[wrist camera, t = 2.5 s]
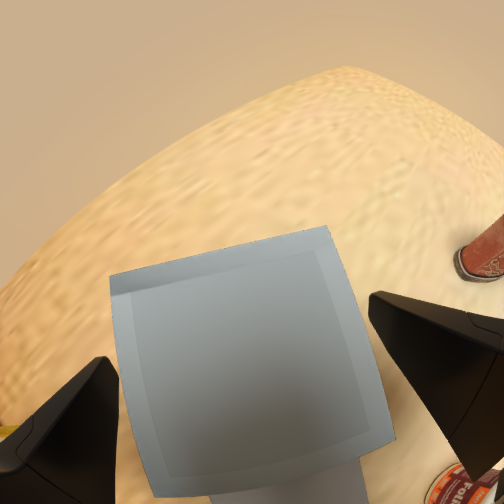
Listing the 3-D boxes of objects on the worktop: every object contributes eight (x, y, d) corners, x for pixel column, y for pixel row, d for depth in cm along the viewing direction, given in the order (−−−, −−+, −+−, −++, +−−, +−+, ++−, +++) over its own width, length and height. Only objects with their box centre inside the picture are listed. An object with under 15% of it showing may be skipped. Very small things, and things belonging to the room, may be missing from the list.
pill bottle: (431, 470, 11) (511, 494, 3) (474, 455, 11) (550, 463, 3) (415, 520, 9) (479, 558, 1) (460, 503, 8) (526, 523, 1)
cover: (313, 405, 14) (395, 439, 5) (212, 429, 13) (154, 497, 4) (286, 311, 16) (326, 225, 7) (189, 334, 16) (109, 275, 7)
